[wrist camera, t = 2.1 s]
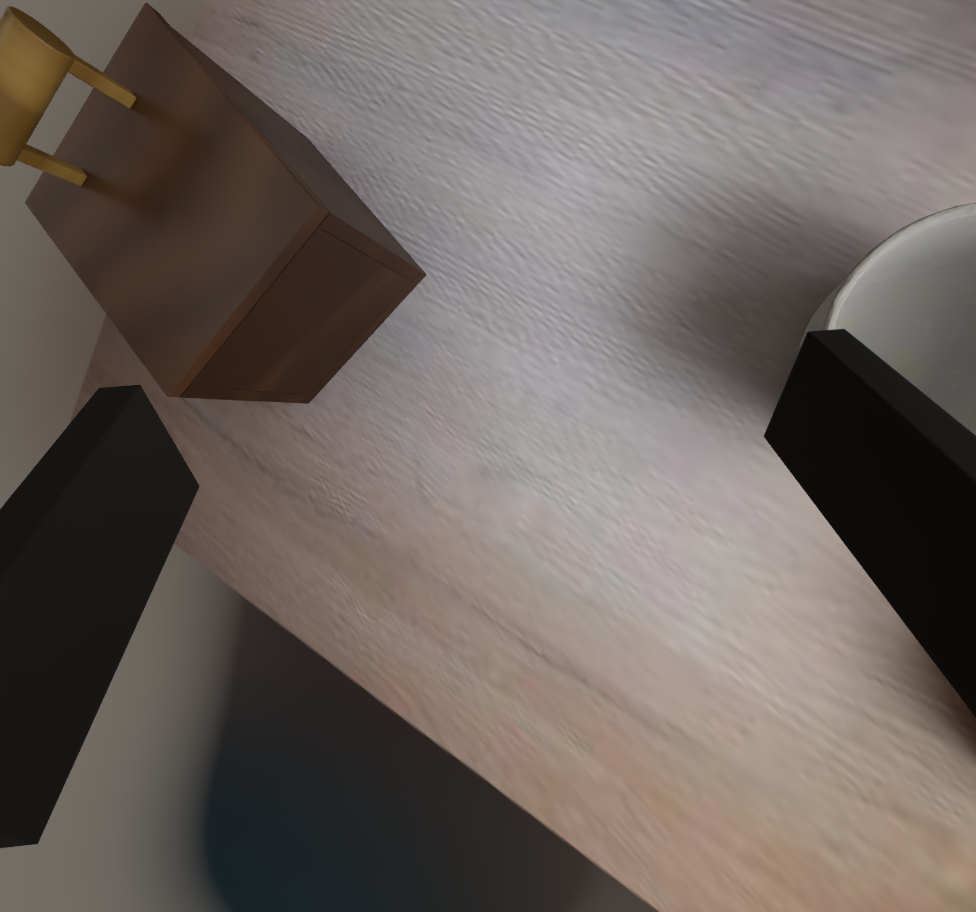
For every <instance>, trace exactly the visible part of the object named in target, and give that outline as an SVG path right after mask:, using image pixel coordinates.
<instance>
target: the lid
mask: <svg viewBox="0 0 976 912" xmlns="http://www.w3.org/2000/svg"><path fill="white" fill-rule="evenodd" d="M67 72H69V73H71V74H72V75H74V76H75V77H77V78H79V79H81V80H82V81H84V82H85V83H87V84H89V85H90V86H92V87H94V89H93V90H92V92H91V94H90V95H89V97H88V99H87V100H86V102H85V103H84V105H83V107H82V108H81V110H80V112H79V114H78V115H77V117H76V119H75V120H74V122H73V123H72V125H71V127H70V128H69V130H68V132H67V134H66V135H65V137H64V138H63V140H62V142H61V143H60V145H59V147H58V148H57V150H56V152H55V153H54V155H53V156H52V155H49V154H47V153H45V152H43V151H40V150H38V149H36V148H34V147H31V146H29V145H27V144H26V143H27V141H28V139H29V138H30V136H31V134H32V133H33V131H34V129H35V127H36V126H37V124H38V122H39V121H40V119H41V117H42V116H43V114H44V112H45V110H46V108H47V107H48V105H49V103H50V102H51V100H52V98H53V97H54V95H55V93H56V91H57V90H58V88H59V86H60V85H61V83H62V81H63V79H64V77H65V76H66V74H67ZM16 160H17V161H20V162H23V163H25V164H27V165H30V166H32V167H35V168H37V169H40V170H42V171H44V172H43V173H42V175H41V176H40V178H39V180H38V181H37V183H36V185H35V187H34V188H33V190H32V191H31V193H30V195H29V196H28V198H27V200H26V201H25V203H26V205H27V206H28V208H29V209H30V210H31V212H32V213H33V214H34V216H35V217H36V219H37V220H38V221H39V223H40V224H41V225H42V227H43V228H44V229H45V231H46V232H47V234H48V235H49V236H50V238H51V239H52V240H53V242H54V243H55V244H56V246H57V247H58V249H59V250H60V251H61V253H62V254H63V255H64V257H65V258H66V259H67V261H68V262H69V263H70V265H71V266H72V268H73V269H74V270H75V272H76V273H77V274H78V276H79V277H80V278H81V280H82V281H83V282H84V284H85V285H86V287H87V288H88V289H89V291H90V292H91V293H92V295H93V296H94V298H95V299H96V300H97V302H98V303H99V304H100V306H101V307H102V308H103V310H104V311H105V312H106V314H107V315H108V317H109V318H110V319H111V321H112V322H113V323H114V325H115V326H116V328H117V329H118V330H119V332H120V333H121V334H122V336H123V337H124V338H125V340H126V341H127V343H128V344H129V345H130V347H131V348H132V349H133V351H134V352H135V353H136V355H137V356H138V358H139V359H140V360H141V362H142V363H143V364H144V366H145V367H146V368H147V370H148V371H149V373H150V374H151V375H152V377H153V378H154V379H155V381H156V382H157V383H158V385H159V386H160V388H161V389H162V390H163V392H164V393H165V394H166V396H168V397H180V396H181V395H182V394H183V392H184V391H185V390H186V389H187V387H188V386H189V385H190V384H191V383H192V381H193V380H194V379H195V378H196V376H197V375H198V374H199V373H200V371H201V370H202V369H203V368H204V367H205V365H206V364H207V363H208V362H209V360H210V359H211V358H212V357H213V355H214V354H215V353H216V352H217V351H218V349H219V348H220V347H221V346H222V344H223V343H224V342H225V341H226V339H227V338H228V337H229V336H230V334H231V333H232V332H233V331H234V330H235V328H236V327H237V326H238V325H239V323H240V322H241V321H242V320H243V318H244V317H245V316H246V315H247V314H248V312H249V311H250V310H251V309H252V307H253V306H254V305H255V304H256V302H257V301H258V300H259V299H260V297H261V296H262V295H263V294H264V293H265V291H266V290H267V289H268V288H269V286H270V285H271V284H272V283H273V281H274V280H275V279H276V278H277V277H278V275H279V274H280V273H281V272H282V270H283V269H284V268H285V267H286V265H287V264H288V263H289V262H290V261H291V259H292V258H293V257H294V256H295V254H296V253H297V252H298V251H299V249H300V248H301V247H302V246H303V244H304V243H305V242H306V241H307V240H308V238H309V237H310V236H311V235H312V233H313V232H314V231H315V230H316V228H317V227H318V226H319V225H320V224H321V222H322V221H323V220H324V219H325V217H326V216H327V215H328V214H329V211H328V210H327V209H326V207H325V206H324V205H323V204H322V203H321V202H320V200H319V199H318V198H317V197H316V196H315V195H314V193H313V192H312V191H311V190H310V189H309V188H308V186H307V185H306V184H305V183H304V182H303V181H302V179H301V178H300V177H299V176H298V175H297V174H296V172H295V171H294V170H293V169H292V168H291V167H290V165H289V164H288V163H287V162H286V161H285V160H284V158H283V157H282V156H281V155H280V154H279V153H278V151H277V150H276V149H275V148H274V147H273V146H272V144H271V143H270V142H269V141H268V140H267V139H266V137H265V136H264V135H263V134H262V133H261V132H260V130H259V129H258V128H257V127H256V126H255V125H254V123H253V122H252V121H251V120H250V119H249V118H248V116H247V115H246V114H245V113H244V112H243V111H242V109H241V108H240V107H239V106H238V105H237V104H236V102H235V101H234V100H233V99H232V98H231V97H230V95H229V94H228V93H227V92H226V91H225V90H224V88H223V87H222V86H221V85H220V84H219V83H218V81H217V80H216V79H215V78H214V77H213V76H212V74H211V73H210V72H209V71H208V70H207V69H206V67H205V66H204V65H203V64H202V63H201V62H200V60H199V59H198V58H197V57H196V56H195V55H194V53H193V52H192V51H191V50H190V49H189V48H188V46H187V45H186V44H185V43H184V42H183V41H182V39H181V38H180V37H179V36H178V35H177V34H176V32H175V31H174V30H173V29H172V28H171V27H170V25H169V24H168V23H167V22H166V21H165V20H164V19H163V17H162V16H161V15H160V14H159V13H158V12H157V11H156V10H155V9H153V8H152V7H151V6H150V5H149V4H147V3H145V4H144V6H143V7H142V9H141V11H140V12H139V14H138V16H137V17H136V19H135V21H134V22H133V24H132V25H131V27H130V29H129V31H128V32H127V34H126V35H125V37H124V39H123V40H122V42H121V44H120V46H119V47H118V49H117V51H116V52H115V54H114V55H113V57H112V59H111V60H110V62H109V64H108V65H107V67H106V69H105V70H104V72H101V71H99V70H98V69H96V68H95V67H93V66H92V65H90V64H88V63H87V62H85V61H84V60H82V59H81V58H79V57H77V56H76V55H74V54H73V52H72V51H71V50H70V49H69V47H68V46H66V45H65V43H64V42H62V41H61V40H60V39H59V38H58V37H57V36H56V35H54V34H53V33H52V32H51V31H50V30H48V29H47V28H46V27H44V26H43V25H42V24H40V23H39V22H38V21H36V20H35V19H34V18H32V17H31V16H29V15H27V14H25V13H24V12H22V11H20V10H19V9H16V8H14V7H11V6H8V7H7V8H6V10H5V12H4V14H3V16H2V18H1V20H0V165H3V166H12V165H14V164H15V162H16Z"/></svg>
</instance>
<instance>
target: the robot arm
mask: <svg viewBox="0 0 976 912" xmlns="http://www.w3.org/2000/svg"><path fill="white" fill-rule="evenodd" d="M764 437H765V439H766V440H767V441H768V443H769V444H770V445H771V447H772V448H773V449H774V451H775V452H776V453H777V455H778V456H779V457H780V459H781V460H782V461H783V463H784V464H785V465H786V467H787V468H788V469H789V471H790V472H791V473H792V475H793V476H794V477H795V479H796V480H797V481H798V483H799V484H800V485H801V487H802V488H803V489H804V491H805V492H806V493H807V494H808V496H809V497H810V498H811V500H812V501H813V502H814V504H815V505H816V506H817V508H818V509H819V510H820V512H821V513H822V514H823V516H824V517H825V518H826V520H827V521H828V522H829V524H830V525H831V526H832V528H833V529H834V530H835V532H836V533H837V534H838V536H839V537H840V538H841V540H842V541H843V542H844V544H845V545H846V546H847V548H848V549H849V550H850V552H851V553H852V554H853V555H854V557H855V558H856V559H857V561H858V562H859V563H860V565H861V566H862V567H863V569H864V570H865V571H866V573H867V574H868V575H869V577H870V578H871V579H872V581H873V582H874V583H875V585H876V586H877V587H878V589H879V590H880V591H881V593H882V594H883V595H884V597H885V598H886V599H887V601H888V602H889V603H890V605H891V606H892V607H893V609H894V610H895V611H896V613H897V614H898V615H899V617H900V618H901V619H902V620H903V622H904V623H905V624H906V626H907V627H908V628H909V630H910V631H911V632H912V634H913V635H914V636H915V638H916V639H917V640H918V642H919V643H920V644H921V646H922V647H923V648H924V650H925V651H926V652H927V654H928V655H929V656H930V658H931V659H932V660H933V662H934V663H935V664H936V666H937V667H938V668H939V670H940V671H941V672H942V674H943V675H944V676H945V678H946V679H947V680H948V681H949V683H950V684H951V685H952V687H953V688H954V689H955V691H956V692H957V693H958V695H959V696H960V697H961V699H962V700H963V701H964V703H965V704H966V705H967V707H968V708H969V709H970V711H971V712H972V713H973V715H974V716H975V717H976V435H974V434H973V433H972V432H971V431H970V430H968V429H967V428H966V427H965V426H963V425H962V424H961V423H960V422H959V421H957V420H956V419H955V418H954V417H952V416H951V415H950V414H949V413H947V412H946V411H945V410H944V409H943V408H941V407H940V406H939V405H938V404H936V403H935V402H934V401H933V400H931V399H930V398H929V397H928V396H927V395H925V394H924V393H923V392H922V391H920V390H919V389H918V388H917V387H916V386H914V385H913V384H912V383H911V382H909V381H908V380H907V379H906V378H904V377H903V376H902V375H901V374H900V373H898V372H897V371H896V370H895V369H893V368H892V367H891V366H890V365H888V364H887V363H886V362H885V361H884V360H882V359H881V358H880V357H879V356H877V355H876V354H875V353H874V352H872V351H871V350H870V349H869V348H868V347H866V346H865V345H864V344H863V343H861V342H860V341H859V340H858V339H857V338H855V337H854V336H853V335H852V334H850V333H849V332H848V331H847V330H845V329H834V330H822V331H809V332H807V334H806V337H805V339H804V342H803V344H802V346H801V349H800V351H799V353H798V356H797V358H796V361H795V363H794V365H793V368H792V370H791V373H790V375H789V377H788V380H787V382H786V384H785V387H784V389H783V392H782V394H781V396H780V399H779V401H778V404H777V406H776V408H775V411H774V413H773V415H772V418H771V420H770V423H769V425H768V427H767V430H766V432H765V435H764ZM198 488H199V484H198V483H197V481H196V479H195V477H194V476H193V474H192V472H191V471H190V469H189V467H188V466H187V464H186V462H185V460H184V459H183V457H182V455H181V454H180V452H179V450H178V448H177V447H176V445H175V443H174V442H173V440H172V438H171V437H170V435H169V433H168V431H167V430H166V428H165V426H164V425H163V423H162V421H161V420H160V418H159V416H158V414H157V413H156V411H155V409H154V408H153V406H152V404H151V402H150V401H149V399H148V397H147V396H146V394H145V392H144V391H143V389H142V387H141V385H132V386H119V387H107V388H99V389H98V390H97V391H96V392H95V394H94V395H93V396H92V397H91V399H90V400H89V401H88V402H87V403H86V405H85V406H84V407H83V408H82V410H81V411H80V412H79V413H78V414H77V416H76V417H75V418H74V419H73V421H72V422H71V423H70V424H69V426H68V427H67V428H66V429H65V430H64V432H63V433H62V434H61V435H60V437H59V438H58V439H57V440H56V441H55V443H54V444H53V445H52V446H51V448H50V449H49V450H48V451H47V453H46V454H45V455H44V456H43V457H42V459H41V460H40V461H39V463H38V464H37V465H36V466H35V467H34V468H33V470H32V471H31V472H30V474H29V475H28V476H27V477H26V478H25V480H24V481H23V482H22V483H21V485H20V486H19V487H18V488H17V489H16V491H15V492H14V493H13V494H12V495H11V497H10V498H9V499H8V500H7V502H6V503H5V504H4V506H3V507H2V508H1V509H0V848H5V847H14V846H23V845H31V844H38V842H39V840H40V837H41V835H42V833H43V831H44V829H45V826H46V824H47V822H48V820H49V818H50V815H51V813H52V811H53V809H54V806H55V804H56V802H57V800H58V798H59V795H60V793H61V791H62V789H63V786H64V784H65V782H66V780H67V778H68V776H69V773H70V771H71V769H72V767H73V765H74V762H75V760H76V758H77V755H78V754H79V751H80V749H81V747H82V745H83V742H84V740H85V738H86V736H87V734H88V731H89V729H90V727H91V725H92V723H93V720H94V718H95V716H96V714H97V712H98V709H99V707H100V705H101V703H102V700H103V698H104V696H105V694H106V692H107V689H108V687H109V685H110V682H111V680H112V678H113V676H114V674H115V671H116V670H117V667H118V665H119V663H120V661H121V658H122V656H123V654H124V652H125V650H126V647H127V645H128V643H129V641H130V639H131V636H132V634H133V632H134V630H135V628H136V625H137V623H138V621H139V619H140V617H141V614H142V612H143V610H144V608H145V606H146V603H147V601H148V599H149V597H150V594H151V592H152V590H153V588H154V585H155V583H156V581H157V579H158V577H159V574H160V572H161V570H162V568H163V566H164V564H165V561H166V559H167V557H168V555H169V552H170V550H171V548H172V546H173V544H174V541H175V539H176V537H177V535H178V533H179V530H180V528H181V526H182V524H183V522H184V519H185V517H186V515H187V513H188V511H189V508H190V506H191V504H192V502H193V499H194V497H195V495H196V493H197V491H198Z"/></svg>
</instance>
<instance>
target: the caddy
mask: <svg viewBox="0 0 976 912" xmlns="http://www.w3.org/2000/svg"><path fill="white" fill-rule="evenodd" d="M171 28H172V27H171ZM172 29H173V28H172ZM173 30H174V31H175V32H176V34H177V35H178V36H179V37H180V38H181V39H182V41H183V42H184V43H185V44H186V45H187V46H188V48H189V49H190V50H191V51H192V52H193V53H194V55H195V56H196V57H197V58H198V59H199V60H200V62H201V63H202V64H203V65H204V66H205V67H206V69H207V70H208V71H209V72H210V73H211V74H212V76H213V77H214V78H215V79H216V80H217V81H218V83H219V84H220V85H221V86H222V87H223V88H224V90H225V91H226V92H227V93H228V94H229V95H230V97H231V98H232V99H233V100H234V101H235V102H236V104H237V105H238V106H239V107H240V108H241V109H242V111H243V112H244V113H245V114H246V115H247V116H248V118H249V119H250V120H251V121H252V122H253V123H254V125H255V126H256V127H257V128H258V129H259V130H260V132H261V133H262V134H263V135H264V136H265V137H266V139H267V140H268V141H269V142H270V143H271V144H272V146H273V147H274V148H275V149H276V150H277V151H278V153H279V154H280V155H281V156H282V157H283V158H284V160H285V161H286V162H287V163H288V164H289V165H290V167H291V168H292V169H293V170H294V171H295V172H296V174H297V175H298V176H299V177H300V178H301V179H302V181H303V182H304V183H305V184H306V185H307V186H308V188H309V189H310V190H311V191H312V192H313V193H314V195H315V196H316V197H317V198H318V199H319V200H320V202H321V203H322V204H323V205H324V206H325V207H326V209H327V210H328V211H329V214H328V215H327V216H326V217H325V219H324V220H323V221H322V222H321V224H320V225H319V226H318V227H317V228H316V230H315V231H314V232H313V233H312V235H311V236H310V237H309V238H308V240H307V241H306V242H305V243H304V244H303V246H302V247H301V248H300V249H299V251H298V252H297V253H296V254H295V256H294V257H293V258H292V259H291V261H290V262H289V263H288V264H287V265H286V267H285V268H284V269H283V270H282V272H281V273H280V274H279V275H278V277H277V278H276V279H275V280H274V281H273V283H272V284H271V285H270V286H269V288H268V289H267V290H266V291H265V293H264V294H263V295H262V296H261V297H260V299H259V300H258V301H257V302H256V304H255V305H254V306H253V307H252V309H251V310H250V311H249V312H248V314H247V315H246V316H245V317H244V318H243V320H242V321H241V322H240V323H239V325H238V326H237V327H236V328H235V330H234V331H233V332H232V333H231V334H230V336H229V337H228V338H227V339H226V341H225V342H224V343H223V344H222V346H221V347H220V348H219V349H218V351H217V352H216V353H215V354H214V355H213V357H212V358H211V359H210V360H209V362H208V363H207V364H206V365H205V367H204V368H203V369H202V370H201V371H200V373H199V374H198V375H197V376H196V378H195V379H194V380H193V381H192V383H191V384H190V385H189V386H188V387H187V389H186V390H185V391H184V392H183V394H182V395H181V396H180V397H181V398H201V399H222V400H244V401H265V402H286V403H309V402H310V401H311V400H312V399H313V398H314V397H315V396H316V395H317V394H318V393H319V392H320V390H321V389H322V388H323V387H324V386H325V385H326V384H327V383H328V382H329V381H330V380H331V378H332V377H333V376H334V375H335V374H336V373H337V372H338V371H339V370H340V369H341V367H342V366H343V365H344V364H345V363H346V362H347V361H348V360H349V359H350V358H351V357H352V355H353V354H354V353H355V352H356V351H357V350H358V349H359V348H360V347H361V346H362V345H363V343H364V342H365V341H366V340H367V339H368V338H369V337H370V336H371V335H372V334H373V332H374V331H375V330H376V329H377V328H378V327H379V326H380V325H381V324H382V323H383V322H384V320H385V319H386V318H387V317H388V316H389V315H390V314H391V313H392V312H393V311H394V310H395V308H396V307H397V306H398V305H399V304H400V303H401V302H402V301H403V300H404V299H405V298H406V296H407V295H408V294H409V293H410V292H411V291H412V290H413V289H414V288H415V287H416V285H417V284H418V283H419V282H420V281H421V280H422V279H423V278H424V277H425V276H426V273H425V272H424V271H423V270H422V269H421V268H420V267H419V265H418V264H417V263H416V262H415V261H414V260H413V259H412V257H411V256H410V255H409V254H408V253H407V252H406V251H405V249H404V248H403V247H402V246H401V245H400V244H399V243H398V241H397V240H396V239H395V238H394V237H393V236H392V235H391V233H390V232H389V231H388V230H387V229H386V228H385V227H384V225H383V224H382V223H381V222H380V221H379V220H378V219H377V217H376V216H375V215H374V214H373V213H372V212H371V211H370V209H369V208H368V207H367V206H366V205H365V204H364V203H363V201H362V200H361V199H360V198H359V197H358V196H357V195H356V193H355V192H354V191H353V190H352V189H351V188H350V186H349V185H348V184H347V183H346V182H345V181H344V180H343V178H342V177H341V176H340V175H339V174H338V173H337V172H336V170H335V169H334V168H333V167H332V166H331V165H330V164H329V162H328V161H327V160H326V159H325V158H324V157H323V156H322V154H321V153H320V152H319V151H318V150H317V149H316V148H315V146H314V145H313V144H312V143H311V142H310V141H309V140H308V138H307V137H306V136H304V135H303V134H302V133H301V132H299V131H298V130H297V129H296V128H295V127H293V126H292V125H291V124H290V123H288V122H287V121H286V120H285V119H283V118H282V117H281V116H280V115H279V114H277V113H276V112H275V111H274V110H272V109H271V108H270V107H269V106H268V105H266V104H265V103H264V102H263V101H261V100H260V99H259V98H258V97H257V96H255V95H254V94H253V93H252V92H250V91H249V90H248V89H247V88H246V87H244V86H243V85H242V84H241V83H239V82H238V81H237V80H236V79H235V78H233V77H232V76H231V75H230V74H228V73H227V72H226V71H225V70H224V69H222V68H221V67H220V66H219V65H217V64H216V63H215V62H214V61H213V60H211V59H210V58H209V57H208V56H206V55H205V54H204V53H203V52H202V51H200V50H199V49H198V48H197V47H195V46H194V45H193V44H192V43H191V42H189V41H188V40H187V39H186V38H184V37H183V36H182V35H181V34H180V33H178V32H177V31H176V30H175V29H173Z"/></svg>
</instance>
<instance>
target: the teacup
mask: <svg viewBox="0 0 976 912" xmlns="http://www.w3.org/2000/svg"><path fill="white" fill-rule="evenodd" d="M834 329H845V330H847V331H848V332H849V333H850V334H852V335H853V336H854V337H855V338H857V339H858V340H859V341H860V342H861V343H863V344H864V345H865V346H866V347H868V348H869V349H870V350H871V351H872V352H874V353H875V354H876V355H877V356H879V357H880V358H881V359H882V360H884V361H885V362H886V363H887V364H888V365H890V366H891V367H892V368H893V369H895V370H896V371H897V372H898V373H900V374H901V375H902V376H903V377H904V378H906V379H907V380H908V381H909V382H911V383H912V384H913V385H914V386H916V387H917V388H918V389H919V390H920V391H922V392H923V393H924V394H925V395H927V396H928V397H929V398H930V399H931V400H933V401H934V402H935V403H936V404H938V405H939V406H940V407H941V408H943V409H944V410H945V411H946V412H947V413H949V414H950V415H951V416H952V417H954V418H955V419H956V420H957V421H959V422H960V423H961V424H962V425H963V426H965V427H966V428H967V429H968V430H970V431H971V432H972V433H973V434H974V435H976V203H973V204H967V205H961V206H956V207H953V208H949V209H946V210H943V211H940V212H937V213H935V214H932V215H929V216H927V217H924V218H922V219H919V220H917V221H915V222H913V223H911V224H909V225H907V226H905V227H903V228H902V229H900V230H899V231H897V232H896V233H894V234H893V235H891V236H890V237H888V238H887V239H886V240H884V241H883V242H882V243H881V244H879V245H878V246H877V247H875V248H874V249H873V250H872V251H870V252H869V253H868V254H867V256H866V257H865V258H864V259H863V260H862V261H861V262H860V263H859V264H858V265H857V266H856V267H855V268H854V269H853V270H852V271H851V273H850V274H849V275H848V276H847V277H846V278H845V279H844V280H843V281H842V282H841V283H840V284H839V285H838V286H837V287H836V288H835V289H834V290H833V291H832V292H831V293H830V294H829V295H828V296H827V297H826V299H825V300H824V301H823V302H822V304H821V305H820V306H819V308H818V309H817V310H816V312H815V313H814V315H813V316H812V318H811V320H810V322H809V324H808V326H807V327H806V329H805V332H804V334H803V337H802V340H801V343H800V346H799V350H798V353H799V351H800V349H801V346H802V344H803V342H804V339H805V337H806V334H807V332H809V331H822V330H834Z"/></svg>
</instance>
